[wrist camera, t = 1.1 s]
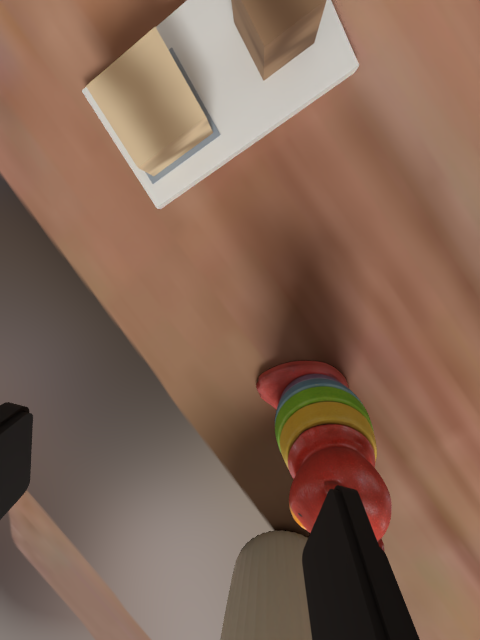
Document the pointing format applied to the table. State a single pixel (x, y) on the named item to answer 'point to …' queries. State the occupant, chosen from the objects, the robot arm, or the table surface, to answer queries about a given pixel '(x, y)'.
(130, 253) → the table surface
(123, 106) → the oak base block
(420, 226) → the table surface
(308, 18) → the walnut cube
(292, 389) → the stacking bear
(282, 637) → the canister
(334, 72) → the board
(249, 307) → the table surface
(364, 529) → the robot arm
